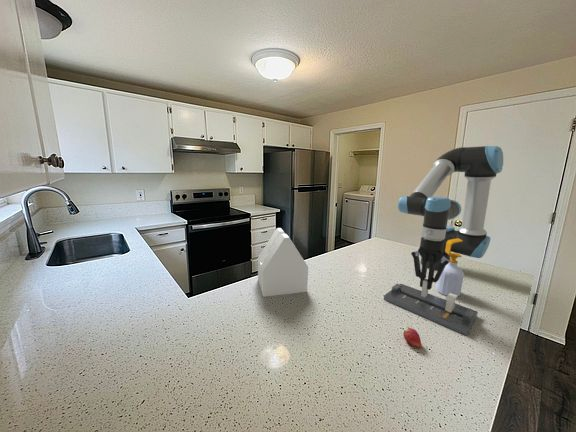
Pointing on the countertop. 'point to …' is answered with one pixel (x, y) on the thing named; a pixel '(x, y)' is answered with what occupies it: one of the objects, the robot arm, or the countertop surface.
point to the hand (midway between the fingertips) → (424, 295)
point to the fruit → (412, 337)
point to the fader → (450, 302)
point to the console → (432, 308)
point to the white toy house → (281, 267)
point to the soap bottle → (451, 273)
